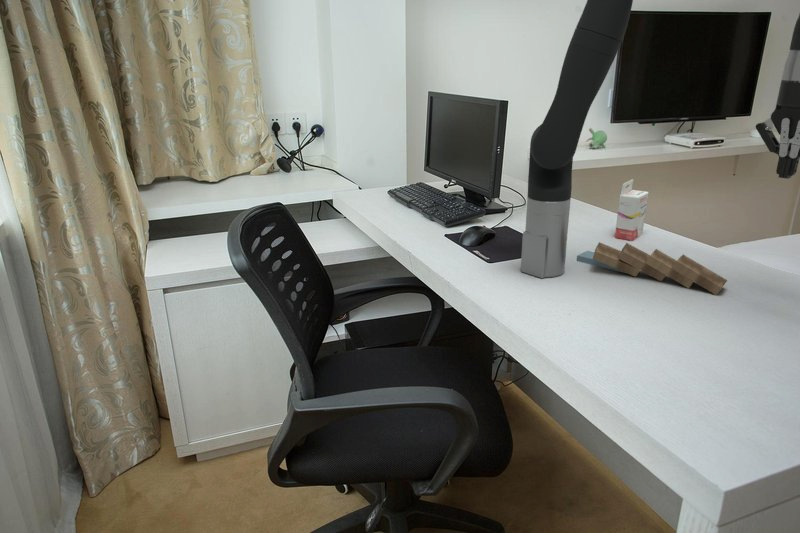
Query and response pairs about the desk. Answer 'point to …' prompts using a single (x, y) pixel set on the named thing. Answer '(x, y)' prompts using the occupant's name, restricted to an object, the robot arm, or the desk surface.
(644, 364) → the desk surface
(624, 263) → the tile
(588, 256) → the end tile
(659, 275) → the tile
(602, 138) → the frog
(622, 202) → the ink cartridge box
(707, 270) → the tile
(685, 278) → the tile
